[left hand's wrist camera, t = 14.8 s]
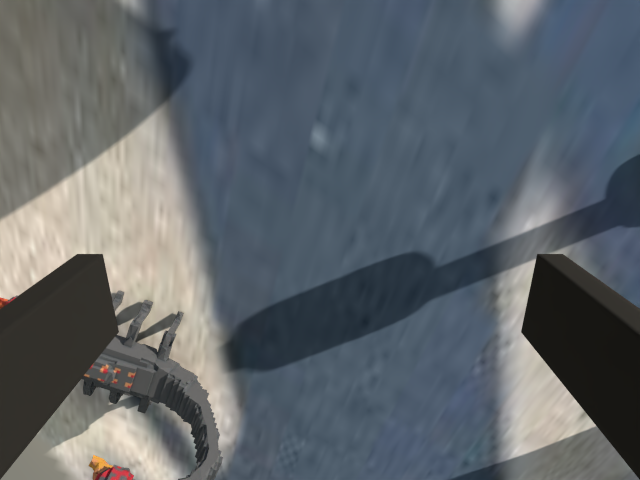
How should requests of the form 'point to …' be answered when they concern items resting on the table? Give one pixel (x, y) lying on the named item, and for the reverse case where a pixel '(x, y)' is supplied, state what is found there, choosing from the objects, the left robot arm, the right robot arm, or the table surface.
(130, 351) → the toy
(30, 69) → the table surface
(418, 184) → the table surface
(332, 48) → the table surface
